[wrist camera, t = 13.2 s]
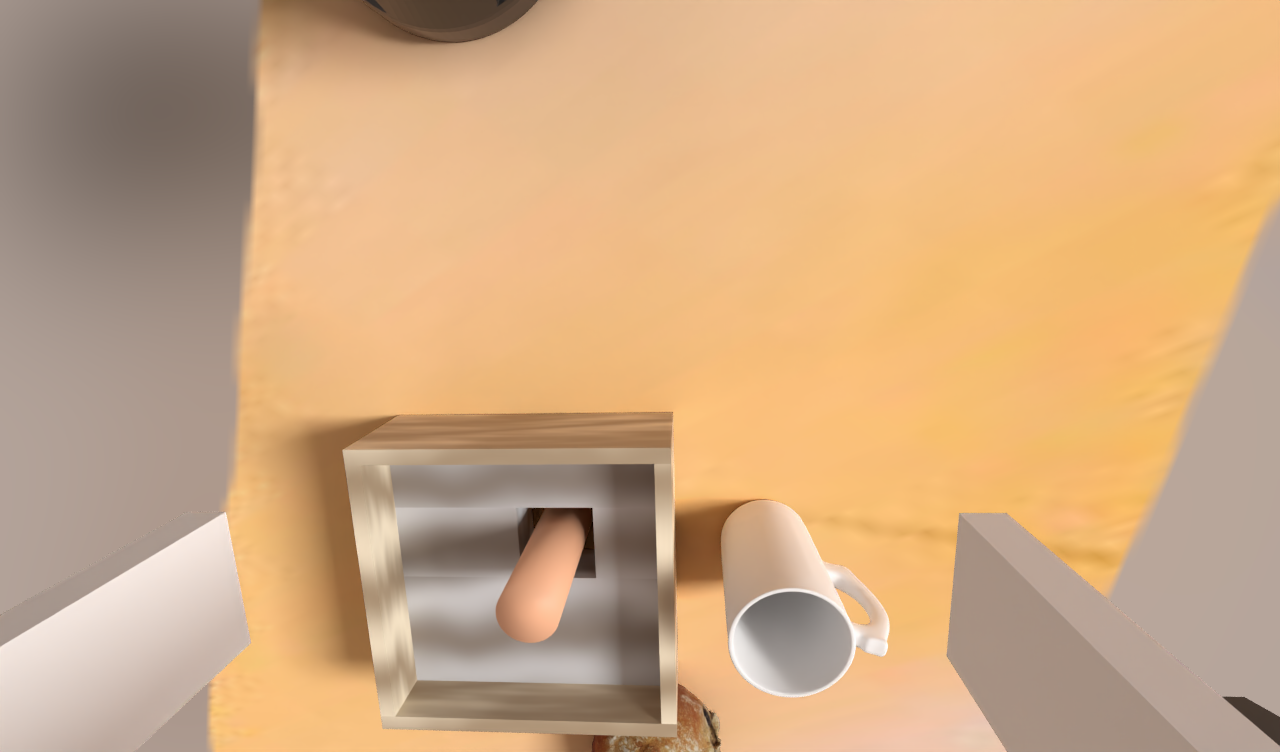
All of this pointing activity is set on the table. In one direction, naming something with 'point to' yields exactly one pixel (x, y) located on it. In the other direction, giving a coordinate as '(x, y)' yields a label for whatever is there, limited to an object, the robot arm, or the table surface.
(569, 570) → the peg
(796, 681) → the mug
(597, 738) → the bread roll
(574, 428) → the socket box
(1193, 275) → the table surface
